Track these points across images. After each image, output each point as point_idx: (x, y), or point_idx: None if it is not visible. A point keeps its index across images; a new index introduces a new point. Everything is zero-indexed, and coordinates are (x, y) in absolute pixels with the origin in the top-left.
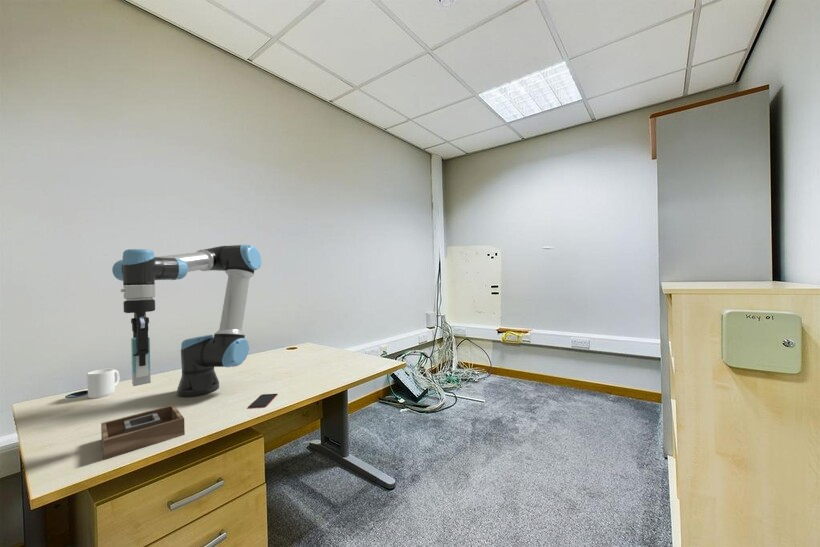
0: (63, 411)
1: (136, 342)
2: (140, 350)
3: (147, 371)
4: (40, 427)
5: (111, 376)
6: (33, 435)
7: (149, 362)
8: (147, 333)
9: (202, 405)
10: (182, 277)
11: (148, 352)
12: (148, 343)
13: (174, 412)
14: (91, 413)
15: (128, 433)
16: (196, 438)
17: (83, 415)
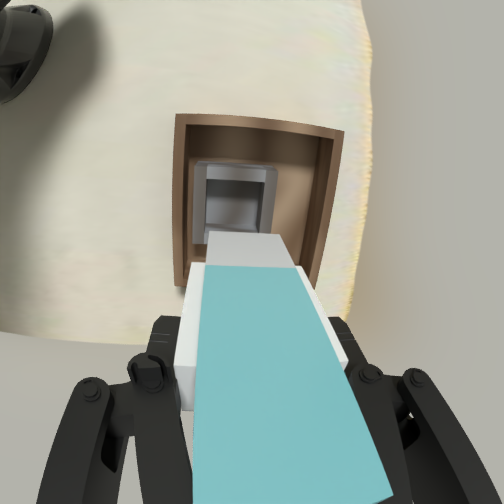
0: None
1: None
2: (406, 417)
3: (308, 281)
4: (38, 323)
5: None
6: (69, 333)
7: (310, 301)
8: (491, 490)
9: (134, 40)
10: None
11: (418, 369)
12: (365, 441)
13: (251, 127)
14: (9, 263)
15: (321, 250)
16: (370, 124)
17: (13, 274)
